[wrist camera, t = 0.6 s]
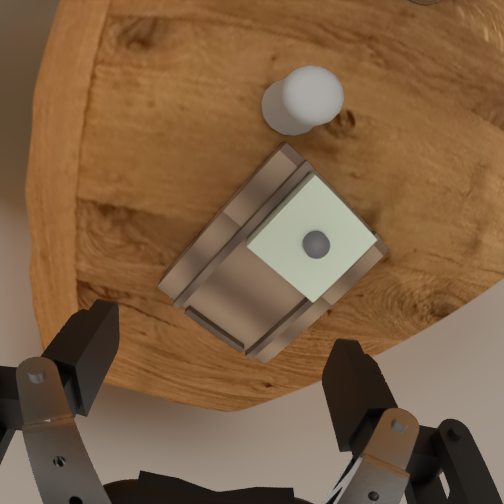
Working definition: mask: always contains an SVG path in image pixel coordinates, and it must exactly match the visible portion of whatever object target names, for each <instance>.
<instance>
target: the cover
mask: <svg viewBox="0 0 504 504" xmlns="http://www.w3.org/2000/svg"><path fill="white" fill-rule="evenodd" d="M376 241H377V239H376V238H375V237H374V235H373V234H372V233H371V232H370V231H369V230H368V229H367V228H366V227H365V226H364V224H363V223H362V222H361V221H360V220H359V219H358V218H357V217H356V216H355V215H354V214H353V213H352V212H351V211H350V209H349V208H348V207H347V206H346V205H345V204H344V203H343V202H342V201H341V200H340V199H339V198H338V197H337V196H336V195H335V194H334V193H333V192H332V191H331V190H330V189H329V188H328V187H327V186H326V185H325V184H324V183H323V182H322V181H321V180H320V179H319V178H318V177H317V176H316V175H315V174H313V173H311V172H309V173H308V174H307V175H306V176H305V177H304V178H303V179H302V180H301V181H300V182H299V183H298V184H297V185H296V186H295V187H294V188H293V189H292V190H291V192H290V193H289V194H288V195H287V196H286V197H285V198H284V199H283V200H282V201H281V202H280V203H279V204H278V205H277V206H276V207H275V208H274V209H273V210H272V211H271V213H270V214H269V215H268V216H267V217H266V218H265V219H264V220H263V221H262V222H261V223H260V224H259V225H258V226H257V227H256V228H255V229H254V230H253V232H252V233H251V234H250V235H249V236H248V237H247V238H246V243H247V247H248V248H249V249H250V250H251V251H252V252H254V253H255V254H256V255H257V256H258V257H260V258H261V259H262V260H263V261H264V262H265V263H267V264H268V265H269V266H270V267H271V268H273V269H274V270H275V271H276V272H277V273H279V274H280V275H281V276H282V277H283V278H284V279H286V280H287V281H288V282H289V283H290V284H292V285H293V286H294V287H295V288H296V289H297V290H299V291H300V292H301V293H302V294H303V295H305V296H306V297H307V298H308V299H309V300H310V301H312V302H315V301H316V300H317V299H318V298H319V297H320V296H321V295H322V294H323V293H324V292H325V291H326V290H327V289H328V288H329V287H330V286H331V285H332V284H334V283H335V282H336V281H337V280H338V279H339V278H340V277H341V276H342V275H343V274H344V273H345V272H346V271H347V270H348V269H349V268H350V267H351V266H352V265H353V264H354V263H355V262H356V261H357V260H358V259H359V258H360V257H361V256H362V255H363V254H364V253H365V252H366V251H367V250H368V249H369V248H370V247H371V246H372V245H373V244H374V243H375V242H376Z"/></svg>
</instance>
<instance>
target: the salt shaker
mask: <svg viewBox="0 0 504 504" xmlns="http://www.w3.org/2000/svg"><path fill="white" fill-rule="evenodd" d="M343 102H344V93H343V87H342V85H341V83H340V82H339V80H338V79H337V77H336V76H335V74H333V73H331V72H330V71H328V70H327V69H325V68H323V67H318V66H312V65H308V66H304V67H301V68H298V69H294V70H293V71H292V72H291V73H290V74H289V75H288V76H287V77H286V78H285V79H282V80H279V81H276V82H274V83H273V84H272V85H271V86H270V87H269V88H268V89H267V90H266V91H265V93H264V96H263V99H262V102H261V106H262V113H263V117H264V119H265V120H266V121H267V123H268V124H269V126H270V127H271V128H272V129H274V130H276V131H277V132H279V133H281V134H282V135H292V136H297V135H300V134H303V133H306V132H309V131H310V130H311V129H312V128H313V127H314V126H318V125H321V124H324V123H328V122H330V121H331V120H332V119H333V118H334V117H335V116H336V115H337V114H338V113H339V112H340V111H341V108H342V105H343Z"/></svg>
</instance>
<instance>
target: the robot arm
mask: <svg viewBox="0 0 504 504" xmlns="http://www.w3.org/2000/svg"><path fill="white" fill-rule="evenodd" d="M411 1H413V2H415V3H418V4H423V5H431V4H434V3H437V2H438V1H440V0H411ZM119 338H120V337H119V308H118V304H117V303H115V302H110V301H106V300H101V299H97V300H96V301H95V302H94V304H93V305H92V306H91V308H90V309H89V310H85V309H82V310H80V311H78V312H76V313H75V314H73V315H72V316H71V317H70V318H69V319H68V321H67V322H66V323H65V325H64V326H63V327H62V328H61V330H60V333H59V332H58V334H57V335H56V336H55V338H54V339H53V340H52V342H51V343H50V344H49V346H48V347H47V348H46V350H45V351H44V352H43V354H42V355H41V357H31V358H28V359H26V360H24V361H22V362H21V363H20V364H19V366H18V367H6V366H0V464H1V462H2V460H3V457H4V455H5V453H6V450H7V448H8V446H9V444H10V441H11V439H12V437H13V435H14V433H15V431H16V430H21V431H22V433H23V438H24V442H25V446H26V450H27V454H28V457H29V461H30V464H31V468H32V471H33V475H34V478H35V481H36V484H37V487H38V490H39V493H40V496H41V499H42V501H43V504H313V503H311V502H308V501H306V500H303V499H300V498H296V497H294V491H293V488H273V487H253V488H246V489H239V490H231V491H223V492H216V491H212V490H209V489H206V488H203V487H200V486H198V485H195V484H192V483H189V482H187V481H184V480H182V479H179V478H175V477H169V476H164V475H159V474H154V473H150V472H145V471H140V474H139V478H138V479H129V480H120V481H115V482H111V483H108V484H105V485H103V486H102V484H101V482H100V480H99V477H98V475H97V473H96V471H95V469H94V467H93V465H92V462H91V460H90V458H89V456H88V453H87V451H86V448H85V446H84V444H83V441H82V439H81V436H80V433H79V431H78V428H77V426H76V423H75V420H74V417H75V415H76V414H80V415H83V416H86V417H87V415H88V413H89V411H90V408H91V406H92V404H93V402H94V399H95V397H96V395H97V393H98V391H99V389H100V386H101V384H102V382H103V380H104V378H105V376H106V374H107V372H108V370H109V368H110V366H111V363H112V361H113V359H114V357H115V355H116V353H117V350H118V347H119ZM322 385H323V389H324V392H325V396H326V400H327V404H328V408H329V411H330V415H331V419H332V423H333V427H334V431H335V435H336V439H337V443H338V447H339V451H340V452H347V451H352V455H353V457H352V458H351V459H350V461H349V462H348V464H347V466H346V467H345V469H344V471H343V472H342V474H341V475H340V477H339V478H338V480H337V482H336V483H335V485H334V486H333V488H332V489H331V491H330V492H329V494H328V495H327V497H326V498H325V499H324V500H323V502H322V503H321V504H399V503H400V501H401V498H402V496H403V493H405V497H406V500H407V504H503V503H502V500H501V498H500V496H499V493H498V491H497V488H496V486H495V484H494V482H493V479H492V477H491V475H490V473H489V470H488V468H487V466H486V464H485V462H484V460H483V458H482V456H481V453H480V451H479V449H478V447H477V445H476V443H475V442H474V439H473V437H472V435H471V433H470V431H469V429H468V428H467V427H466V426H465V425H464V424H463V423H462V422H460V421H458V420H455V419H446V420H444V421H442V423H441V424H440V425H439V426H438V428H432V427H426V426H421V425H419V423H418V421H417V419H416V418H415V417H414V416H413V415H412V414H411V413H410V412H408V411H406V410H404V409H401V408H398V406H397V404H396V402H395V400H394V397H393V395H392V393H391V391H390V389H389V387H388V385H387V383H386V382H385V379H384V377H383V375H382V374H381V370H380V368H379V366H378V364H377V362H375V360H373V359H372V358H371V357H370V356H369V355H368V354H364V352H363V350H362V348H361V346H360V344H359V342H358V341H357V340H349V339H337V340H336V341H335V343H334V346H333V348H332V351H331V353H330V355H329V358H328V360H327V363H326V365H325V367H324V370H323V374H322ZM442 472H444V474H445V477H446V480H447V482H448V485H449V489H450V493H449V497H448V499H447V497H446V494H445V492H444V489H443V486H442V483H441V480H440V478H439V475H440V474H441V473H442Z"/></svg>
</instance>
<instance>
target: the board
mask: <svg viewBox="0 0 504 504" xmlns="http://www.w3.org/2000/svg"><path fill="white" fill-rule="evenodd" d="M309 172H311V173H313V174H315V175H316V176H317V177H318V178H319V179H320V180H321V181H322V182H323V183H324V184H325V185H326V186H327V187H328V188H329V189H330V190H331V191H332V192H333V193H334V194H335V195H336V196H337V197H338V198H339V199H340V200H341V201H342V202H343V203H344V204H345V205H346V206H347V207H348V208H349V209H350V211H351V212H352V213H353V214H354V215H355V216H356V217H357V218H358V219H359V220H360V221H361V222H362V223H363V224H364V226H365V227H366V228H367V229H368V230H369V231H370V232H371V233H372V234H373V235H374V237H375V238H376V239H377V241H376V242H375V243H374V244H373V245H372V246H371V247H370V248H369V249H368V250H367V251H366V252H365V253H364V254H363V255H362V256H361V257H360V258H359V259H358V260H357V261H356V262H355V263H354V264H353V265H352V266H351V267H350V268H349V269H348V270H347V271H346V272H345V273H344V274H343V275H342V276H341V277H340V278H339V279H338V280H337V281H336V282H335V283H334V284H332V285H331V286H330V287H329V288H328V289H327V290H326V291H325V292H324V293H323V294H322V295H321V296H320V297H319V298H318V299H317V300H316V301H315V302H312V301H310V300H309V299H308V298H307V297H306V296H305V295H303V294H302V293H301V292H300V291H299V290H297V289H296V288H295V287H294V286H293V285H292V284H290V283H289V282H288V281H287V280H286V279H284V278H283V277H282V276H281V275H280V274H279V273H277V272H276V271H275V270H274V269H273V268H271V267H270V266H269V265H268V264H267V263H265V262H264V261H263V260H262V259H261V258H260V257H258V256H257V255H256V254H255V253H254V252H252V251H251V250H250V249H249V248H248V247H247V243H246V238H247V237H248V236H249V235H250V234H251V233H252V232H253V230H254V229H255V228H256V227H257V226H258V225H259V224H260V223H261V222H262V221H263V220H264V219H265V218H266V217H267V216H268V215H269V214H270V213H271V211H272V210H273V209H274V208H275V207H276V206H277V205H278V204H279V203H280V202H281V201H282V200H283V199H284V198H285V197H286V196H287V195H288V194H289V193H290V192H291V190H292V189H293V188H294V187H295V186H296V185H297V184H298V183H299V182H300V181H301V180H302V179H303V178H304V177H305V176H306V175H307V174H308V173H309ZM388 250H389V248H388V247H387V246H386V245H385V244H384V242H383V241H382V240H381V239H380V237H379V236H378V234H377V233H376V232H374V231H373V230H372V229H371V228H370V227H369V226H368V225H367V223H366V222H365V221H364V220H363V219H362V218H361V217H360V216H359V215H358V214H357V213H356V211H355V210H354V209H353V208H352V207H351V206H350V205H349V204H348V203H347V202H346V201H345V200H344V199H343V198H342V197H341V196H340V195H339V194H338V193H337V191H336V190H335V189H334V188H333V187H332V186H331V185H330V184H329V183H328V182H327V181H326V180H325V179H324V178H323V177H322V176H321V175H320V174H319V173H318V172H317V171H316V170H315V169H314V168H313V166H312V165H311V164H310V163H309V162H308V161H306V160H304V159H303V158H302V157H301V156H300V155H299V154H298V153H297V152H296V151H295V150H294V149H293V148H292V147H291V146H290V145H289V144H288V143H286V142H282V143H281V144H280V145H279V146H278V147H277V148H276V149H275V150H274V151H273V152H272V154H271V155H270V156H269V157H268V158H267V159H266V160H265V161H264V162H263V163H262V164H261V165H260V166H259V167H258V168H257V169H256V171H255V172H254V173H253V174H252V175H251V176H250V177H249V178H248V179H247V180H246V181H245V182H244V184H243V185H242V186H241V187H240V188H239V189H238V190H237V191H236V192H235V193H234V194H233V196H232V197H231V198H230V199H229V200H228V201H227V202H226V203H225V204H224V206H223V207H222V208H221V209H220V210H219V211H218V212H217V213H216V214H215V216H214V217H213V218H212V219H211V220H210V221H209V222H208V223H207V225H206V226H205V227H204V228H203V229H202V230H201V231H200V233H199V234H198V235H197V236H196V237H195V238H194V239H193V241H192V242H191V243H190V244H189V245H188V246H187V248H186V249H185V250H184V251H183V252H182V253H181V255H180V256H179V257H178V258H177V259H176V260H175V262H174V263H173V264H172V265H171V266H170V267H169V269H168V270H167V271H166V272H165V273H164V275H163V276H162V278H161V280H160V282H159V284H158V286H157V287H158V288H159V289H160V290H162V291H163V292H164V293H165V294H167V295H168V296H169V297H171V298H172V299H173V300H174V303H173V305H174V306H175V307H176V308H178V309H179V308H180V307H181V306H183V307H184V308H185V309H186V310H185V313H184V314H186V315H187V316H188V317H190V318H191V319H193V320H194V321H195V322H197V323H198V324H200V325H201V326H202V327H204V328H205V329H206V330H208V331H209V332H211V333H212V334H214V335H215V336H216V337H218V338H219V339H221V340H222V341H224V342H225V343H226V344H228V345H229V346H231V347H232V348H234V349H235V350H237V351H238V352H240V353H241V352H242V351H243V350H244V351H245V354H246V357H247V358H249V359H250V360H251V359H252V358H253V357H255V358H256V359H258V360H259V361H261V362H262V363H264V364H266V363H267V362H268V361H270V360H271V359H272V358H273V357H274V356H276V355H277V354H278V353H279V352H280V351H281V350H283V349H284V348H285V347H286V346H287V345H289V344H290V343H291V342H292V341H293V340H294V339H295V338H297V337H298V336H299V335H300V334H301V333H302V332H303V331H305V330H306V329H307V328H308V327H309V326H310V325H311V324H312V323H314V322H315V321H316V320H317V319H318V318H319V317H320V316H321V315H322V314H323V313H325V312H326V311H327V310H328V309H329V308H330V307H331V306H332V305H333V304H334V303H335V302H336V301H338V300H339V299H340V298H341V297H342V296H343V295H344V294H345V293H346V292H347V291H348V290H349V289H350V288H351V287H352V286H353V285H354V284H355V283H356V282H357V281H358V280H360V279H361V278H362V277H363V276H364V275H365V274H366V273H367V272H368V271H369V270H370V269H371V268H372V267H373V266H374V265H375V264H376V263H377V262H378V261H379V260H380V259H381V258H382V257H383V256H384V255H385V254H386V252H387V251H388Z"/></svg>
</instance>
